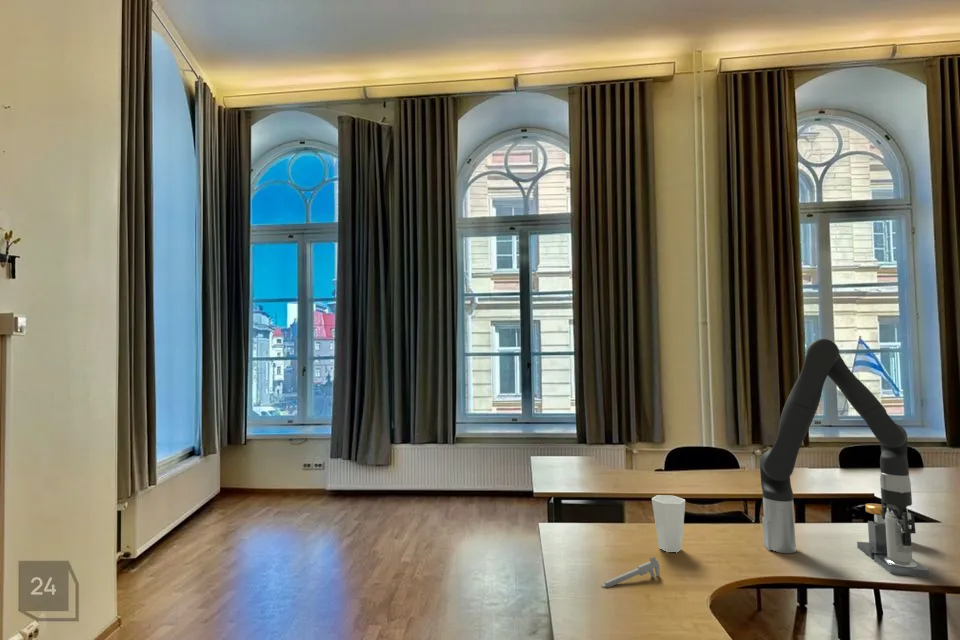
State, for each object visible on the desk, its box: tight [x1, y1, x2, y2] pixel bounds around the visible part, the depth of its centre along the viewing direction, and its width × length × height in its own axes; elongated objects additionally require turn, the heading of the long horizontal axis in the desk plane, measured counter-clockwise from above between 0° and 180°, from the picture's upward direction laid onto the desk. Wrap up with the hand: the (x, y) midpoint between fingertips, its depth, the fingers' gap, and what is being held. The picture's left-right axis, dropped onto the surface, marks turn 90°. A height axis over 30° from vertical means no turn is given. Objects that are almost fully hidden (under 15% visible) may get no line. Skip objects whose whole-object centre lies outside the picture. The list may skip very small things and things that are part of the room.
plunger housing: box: [856, 520, 887, 560], centre depth 171 cm, size 10×10×10 cm
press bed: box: [873, 555, 931, 578], centre depth 159 cm, size 10×10×2 cm
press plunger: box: [865, 502, 886, 525], centre depth 171 cm, size 7×7×9 cm
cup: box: [651, 494, 686, 554], centre depth 177 cm, size 11×10×17 cm
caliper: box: [600, 555, 661, 589], centre depth 152 cm, size 20×1×6 cm, turn 110°
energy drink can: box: [885, 511, 913, 565], centre depth 160 cm, size 6×6×15 cm
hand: (899, 540), depth 159 cm, fingers open, 8 cm apart
